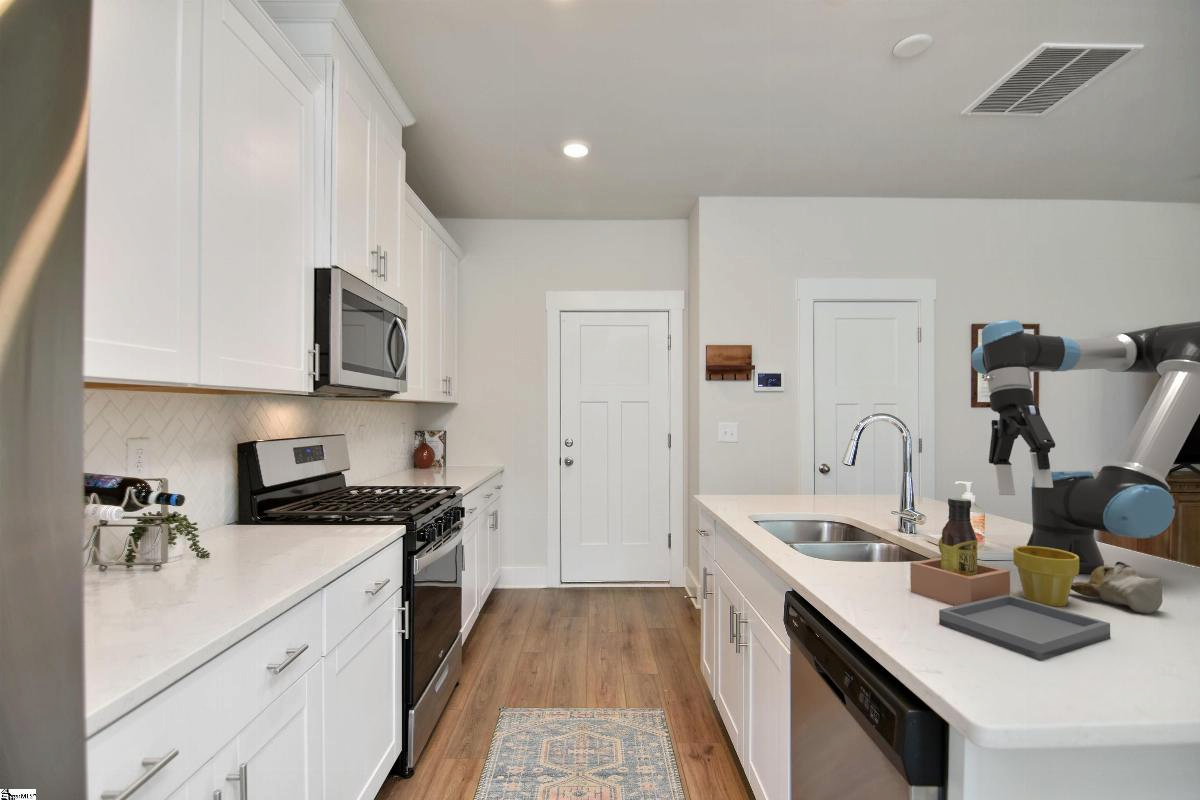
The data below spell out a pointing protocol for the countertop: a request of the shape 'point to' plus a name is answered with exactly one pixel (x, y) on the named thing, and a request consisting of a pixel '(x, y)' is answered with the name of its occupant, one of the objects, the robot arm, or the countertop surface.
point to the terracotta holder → (958, 583)
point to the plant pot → (1046, 573)
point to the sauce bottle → (959, 540)
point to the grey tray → (1025, 626)
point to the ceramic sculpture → (1122, 588)
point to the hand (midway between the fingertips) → (1024, 491)
